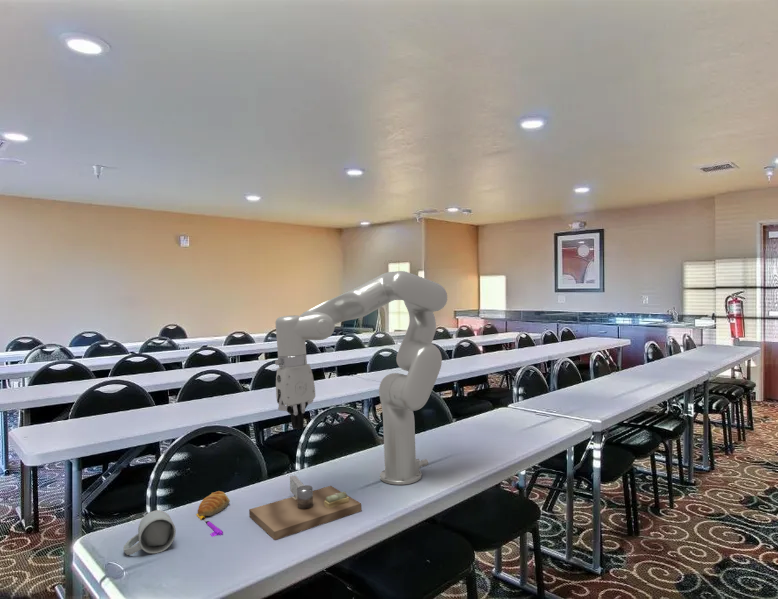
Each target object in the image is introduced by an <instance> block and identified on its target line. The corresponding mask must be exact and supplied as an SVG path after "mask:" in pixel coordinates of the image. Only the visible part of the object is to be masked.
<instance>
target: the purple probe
mask: <svg viewBox="0 0 778 599" xmlns="http://www.w3.org/2000/svg"><path fill="white" fill-rule="evenodd" d="M195 515H196V517H198V519H199V520H200V521H202V520H203V521H204V522H205V524H206V525H207V526H208V527H209V528H210V529H211V530H212V531H213V532H211V533H210V534H209V535H210V537H212V538H213V537H216V536H223V534H224V531H223V530H222V529H220V528H219V527H217V526H216V525H215V524H214V523H213V522H211V521H209V520H206V519H207V518H206V516H199V515H198V513H196V514H195Z"/></svg>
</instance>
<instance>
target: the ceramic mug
mask: <svg viewBox="0 0 778 599" xmlns="http://www.w3.org/2000/svg"><path fill="white" fill-rule="evenodd" d="M137 529H138V530H137V534H135V535H134V536H133V537H131V538H130V539H128V541H127V542H126V543H125V544H124V545H123V552H124V553H125V555H127V556H131V555H134V554H135V553H137V552H139V551H141V550H142V551H143V552H145V553H147V554H153V555H154V554H159V553H162V552H164V551H166V550H167V549H169V548H170V546H171V545H172V544H173V542H174V540H175V538H176V535H177V534H176V525H175V524H174V522H173V520H172V518H171V516H170V515H169V514H168V513H167V512H166V511H163V510H160V509H159V510H157V509H156V510H153V511H152V510H151V511H150V512H148V513H146V514H145V515H144V516H142V518H141V520H140V522H139V524H138V528H137Z"/></svg>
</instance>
